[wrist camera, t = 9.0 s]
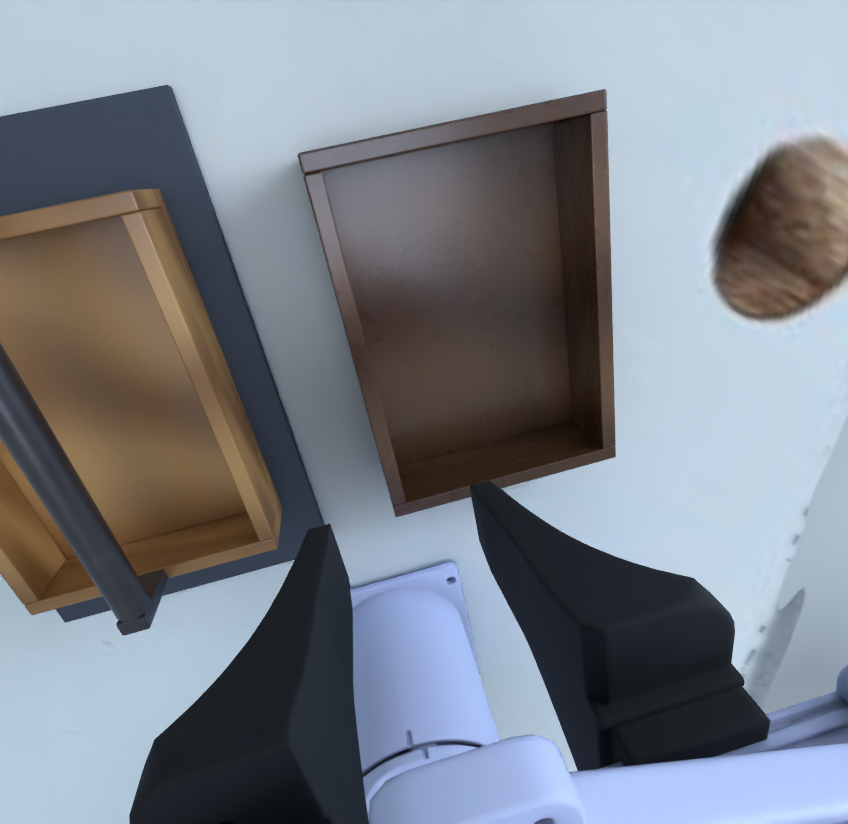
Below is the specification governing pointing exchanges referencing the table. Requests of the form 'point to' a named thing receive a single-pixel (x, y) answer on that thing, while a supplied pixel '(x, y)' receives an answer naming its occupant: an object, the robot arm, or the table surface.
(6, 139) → the mat
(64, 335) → the box
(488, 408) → the dark brown wooden box
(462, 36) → the table surface
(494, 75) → the table surface
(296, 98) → the table surface
